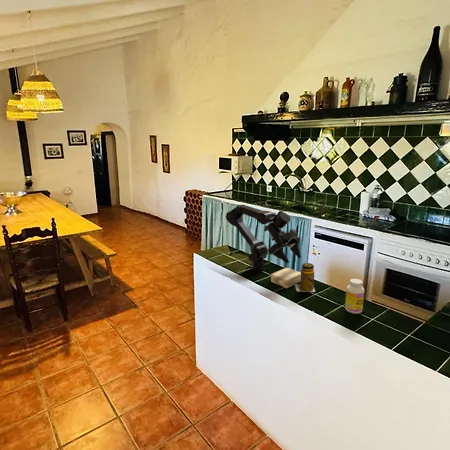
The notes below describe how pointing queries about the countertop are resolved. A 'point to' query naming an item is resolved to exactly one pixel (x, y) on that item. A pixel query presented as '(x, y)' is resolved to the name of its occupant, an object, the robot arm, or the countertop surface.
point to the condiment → (306, 278)
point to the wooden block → (286, 277)
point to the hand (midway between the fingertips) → (294, 260)
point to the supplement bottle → (354, 296)
